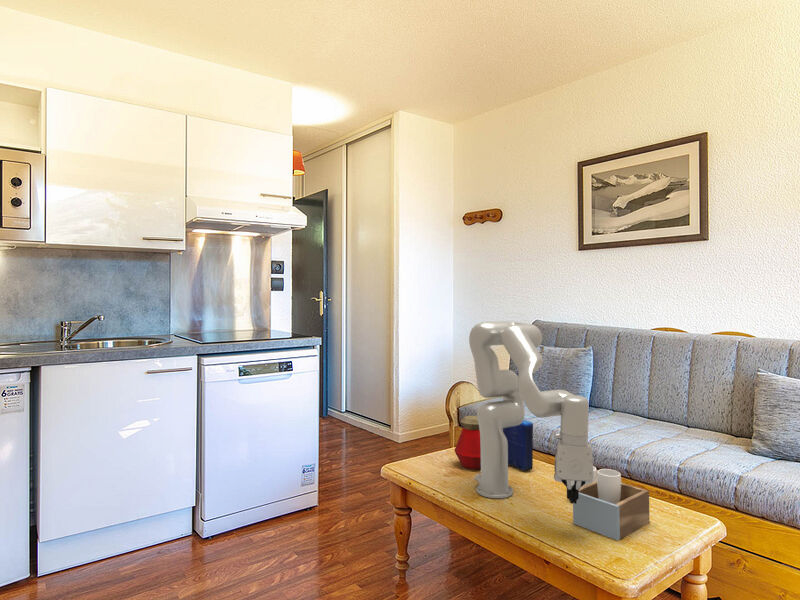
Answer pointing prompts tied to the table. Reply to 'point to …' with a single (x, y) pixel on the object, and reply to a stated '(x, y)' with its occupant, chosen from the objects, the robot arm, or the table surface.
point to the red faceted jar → (469, 444)
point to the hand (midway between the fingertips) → (572, 501)
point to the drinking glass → (609, 485)
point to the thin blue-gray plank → (597, 516)
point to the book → (520, 445)
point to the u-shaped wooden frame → (627, 506)
